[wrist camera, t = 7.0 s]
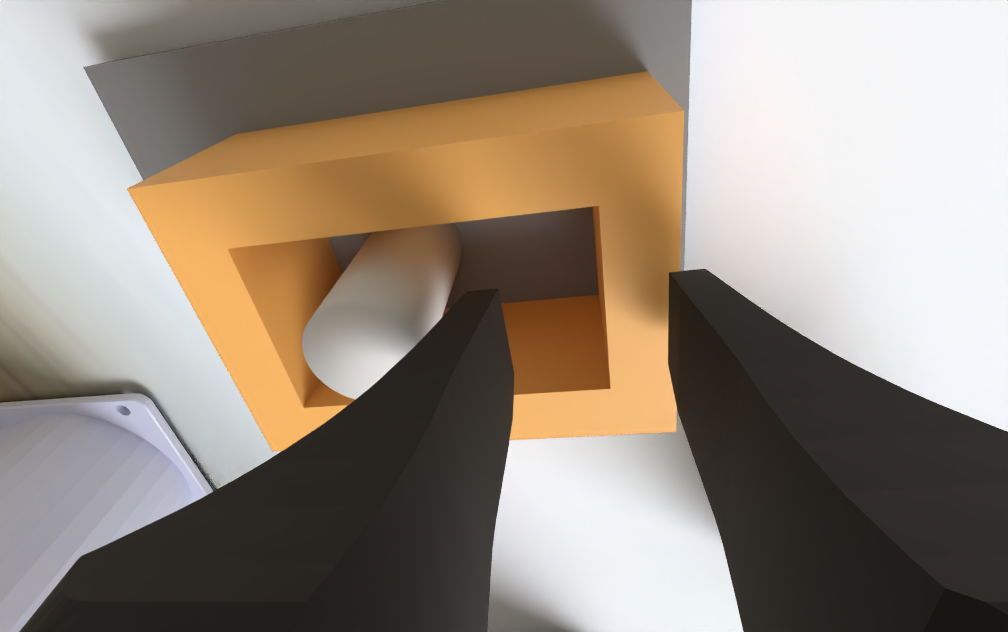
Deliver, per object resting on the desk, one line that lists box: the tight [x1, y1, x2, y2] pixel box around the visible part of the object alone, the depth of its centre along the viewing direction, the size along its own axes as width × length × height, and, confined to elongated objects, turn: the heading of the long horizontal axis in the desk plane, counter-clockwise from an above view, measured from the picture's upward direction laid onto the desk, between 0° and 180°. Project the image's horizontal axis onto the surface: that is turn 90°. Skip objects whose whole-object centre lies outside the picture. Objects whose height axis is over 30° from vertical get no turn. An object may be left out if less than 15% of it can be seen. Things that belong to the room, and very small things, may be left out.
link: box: [127, 71, 684, 451], centre depth 13 cm, size 10×7×4 cm
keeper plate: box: [84, 0, 692, 400], centre depth 13 cm, size 14×11×6 cm
